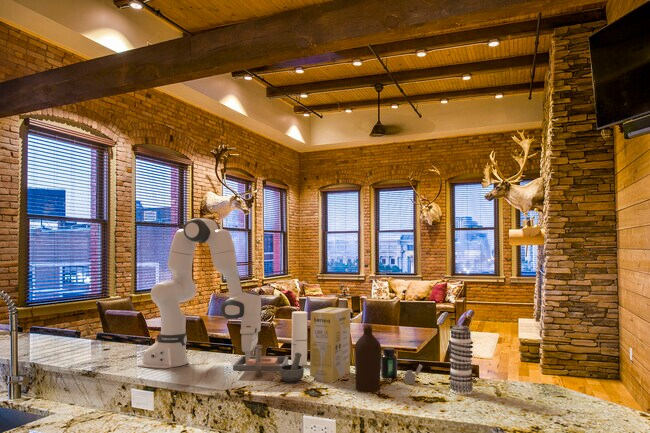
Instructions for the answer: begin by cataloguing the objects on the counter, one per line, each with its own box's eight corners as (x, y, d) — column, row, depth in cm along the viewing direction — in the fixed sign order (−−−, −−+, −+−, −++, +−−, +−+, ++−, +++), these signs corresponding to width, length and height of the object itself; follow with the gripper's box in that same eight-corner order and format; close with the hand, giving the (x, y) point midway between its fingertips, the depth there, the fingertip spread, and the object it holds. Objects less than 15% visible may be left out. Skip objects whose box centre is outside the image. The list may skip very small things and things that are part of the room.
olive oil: (384, 387, 188) (384, 323, 189) (376, 394, 178) (376, 327, 179) (359, 383, 192) (359, 321, 193) (350, 391, 182) (350, 325, 184)
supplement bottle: (393, 380, 198) (393, 350, 199) (378, 377, 201) (378, 349, 202) (399, 376, 204) (399, 348, 204) (384, 374, 207) (384, 346, 208)
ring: (244, 369, 210) (244, 362, 210) (248, 363, 220) (248, 357, 220) (274, 369, 210) (274, 363, 210) (277, 364, 219) (277, 357, 220)
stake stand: (237, 384, 190) (238, 348, 191) (244, 374, 204) (245, 341, 205) (272, 384, 189) (272, 349, 190) (277, 375, 203) (277, 342, 204)
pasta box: (328, 369, 214) (329, 307, 216) (350, 372, 209) (350, 308, 211) (310, 379, 198) (310, 311, 199) (332, 382, 193) (333, 313, 195)
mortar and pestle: (295, 390, 183) (295, 358, 184) (274, 386, 187) (275, 355, 188) (309, 382, 193) (309, 352, 194) (290, 379, 197) (290, 350, 198)
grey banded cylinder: (470, 396, 176) (470, 328, 178) (446, 392, 181) (445, 326, 182) (476, 390, 184) (475, 325, 186) (452, 386, 189) (451, 323, 190)
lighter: (404, 384, 192) (404, 364, 193) (404, 382, 194) (404, 363, 194) (422, 385, 190) (422, 365, 191) (422, 384, 192) (422, 364, 192)
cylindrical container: (304, 369, 214) (305, 313, 215) (289, 368, 215) (290, 313, 217) (308, 365, 221) (308, 311, 222) (293, 364, 222) (294, 311, 224)
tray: (232, 373, 206) (233, 365, 206) (241, 363, 224) (241, 355, 224) (283, 374, 205) (283, 366, 206) (287, 364, 223) (288, 356, 223)
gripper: (248, 323, 227) (247, 352, 226) (239, 330, 206) (238, 362, 206) (261, 323, 227) (260, 352, 226) (253, 331, 206) (252, 363, 205)
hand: (249, 357), depth 216 cm, fingers open, 8 cm apart
